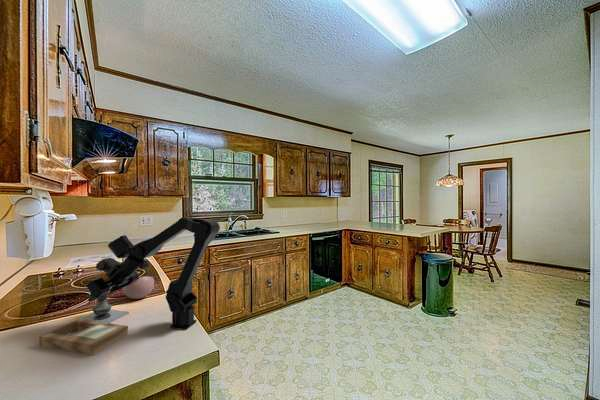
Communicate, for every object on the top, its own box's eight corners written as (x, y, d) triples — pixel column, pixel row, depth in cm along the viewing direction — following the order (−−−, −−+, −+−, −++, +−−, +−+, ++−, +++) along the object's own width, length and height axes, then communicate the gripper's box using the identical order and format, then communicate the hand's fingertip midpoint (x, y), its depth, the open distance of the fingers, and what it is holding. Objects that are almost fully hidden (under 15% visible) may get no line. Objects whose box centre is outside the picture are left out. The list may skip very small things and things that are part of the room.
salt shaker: (95, 322, 93) (95, 288, 93) (89, 317, 96) (89, 285, 96) (114, 316, 98) (114, 284, 98) (108, 312, 101) (108, 281, 101)
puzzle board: (127, 334, 86) (127, 324, 86) (93, 355, 75) (93, 343, 75) (78, 327, 90) (78, 318, 90) (39, 345, 79) (39, 334, 79)
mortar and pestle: (151, 291, 126) (151, 267, 126) (156, 299, 116) (156, 273, 116) (121, 296, 118) (121, 271, 118) (123, 305, 109) (124, 278, 109)
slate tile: (129, 313, 102) (129, 311, 102) (99, 328, 90) (99, 326, 90) (103, 310, 104) (103, 308, 104) (71, 324, 92) (71, 322, 92)
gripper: (132, 246, 106) (107, 273, 107) (91, 256, 87) (61, 288, 88) (150, 267, 105) (124, 293, 106) (112, 281, 87) (82, 313, 88)
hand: (100, 296), depth 97 cm, fingers open, 9 cm apart
